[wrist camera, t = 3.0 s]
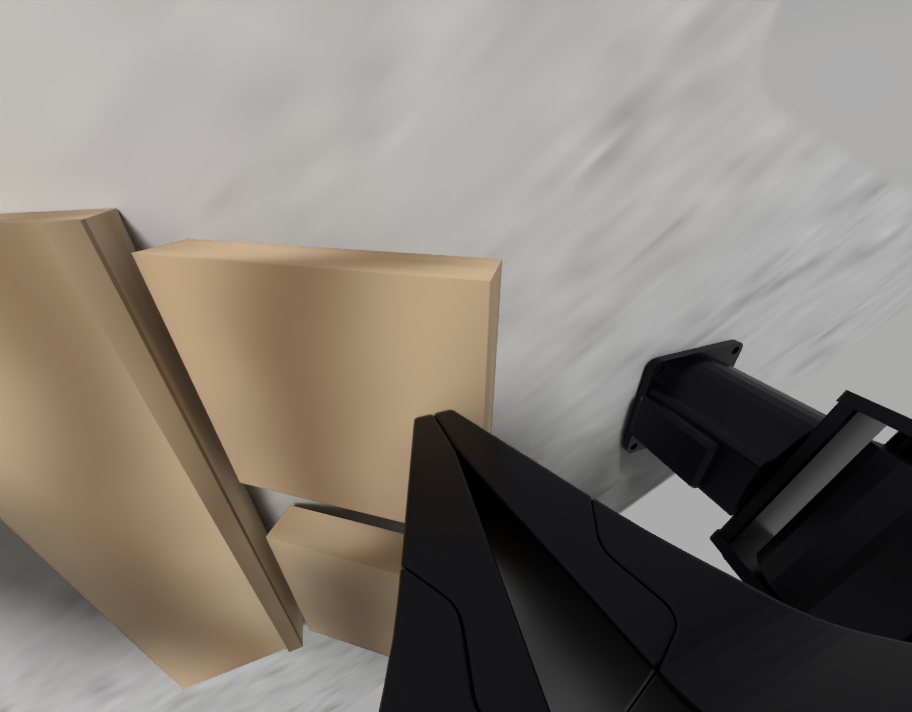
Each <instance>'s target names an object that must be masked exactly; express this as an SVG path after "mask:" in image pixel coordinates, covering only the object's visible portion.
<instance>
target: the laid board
mask: <svg viewBox="0 0 912 712" xmlns="http://www.w3.org/2000/svg"><path fill="white" fill-rule="evenodd" d="M133 252H137V251H136V249H135V247H134V245H133V243H132V241H131V239H130V236H129V234H128V232H127V230H126V228H125V226H124V223H123V221H122V219H121V217H120V215H119V213H118V211H117V208H115V209H94V210H72V211H51V212H30V213H9V214H0V519H1V520H2V521H3V522H4V523H5V524H6V525H8V526H9V527H10V528H11V529H12V530H13V531H14V532H15V533H16V534H17V535H18V536H19V537H20V538H21V539H23V540H24V541H25V542H26V543H27V544H28V545H29V546H30V547H31V548H32V549H33V550H34V551H35V552H36V553H38V554H39V555H40V556H41V557H42V558H43V559H44V560H45V561H46V562H47V563H48V564H49V565H50V566H51V567H53V568H54V569H55V570H56V571H57V572H58V573H59V574H60V575H61V576H62V577H63V578H64V579H65V580H66V581H68V582H69V583H70V584H71V585H72V586H73V587H74V588H75V589H76V590H77V591H78V592H79V593H80V594H81V595H83V596H84V597H85V598H86V599H87V600H88V601H89V602H90V603H91V604H92V605H93V606H94V607H95V608H96V609H98V610H99V611H100V612H101V613H102V614H103V615H104V616H105V617H106V618H107V619H108V620H109V621H110V622H111V623H112V624H114V625H115V626H116V627H117V628H118V629H119V630H120V631H121V632H122V633H123V634H124V635H125V636H126V637H127V638H129V639H130V640H131V641H132V642H133V643H134V644H135V645H136V646H137V647H138V648H139V649H140V650H141V651H142V652H144V653H145V654H146V655H147V656H148V657H149V658H150V659H151V660H152V661H153V662H154V663H155V664H156V665H157V666H159V667H160V668H161V669H162V670H163V671H164V672H165V673H166V674H167V675H168V676H169V677H170V678H171V679H172V680H174V681H175V682H176V683H177V684H178V685H179V686H180V687H181V688H182V689H185V688H187V687H190V686H192V685H195V684H197V683H200V682H202V681H205V680H208V679H210V678H213V677H215V676H218V675H220V674H223V673H225V672H228V671H230V670H233V669H235V668H238V667H240V666H243V665H245V664H248V663H250V662H253V661H255V660H258V659H261V658H263V657H266V656H268V655H271V654H273V653H276V652H278V651H281V650H283V649H286V648H287V649H288V651H289V652H290V651H293V650H295V649H298V648H300V647H303V615H302V613H301V611H300V608H299V606H298V604H297V602H296V600H295V598H294V596H293V594H292V592H291V589H290V587H289V585H288V583H287V581H286V579H285V577H284V575H283V572H282V570H281V568H280V566H279V564H278V562H277V560H276V558H275V556H274V553H273V551H272V549H271V547H270V545H269V543H268V541H267V539H266V536H267V535H268V534H267V531H266V529H265V527H264V525H263V523H262V521H261V519H260V516H259V514H258V512H257V510H256V508H255V506H254V503H253V501H252V499H251V497H250V495H249V493H248V491H247V488H246V486H245V484H244V483H240V481H239V479H238V477H237V475H236V473H235V471H234V469H233V467H232V465H231V462H230V460H229V458H228V456H227V454H226V452H225V450H224V448H223V445H222V443H221V441H220V439H219V437H218V435H217V433H216V431H215V429H214V426H213V424H212V422H211V420H210V418H209V416H208V414H207V412H206V409H205V407H204V405H203V403H202V401H201V399H200V397H199V395H198V393H197V390H196V388H195V386H194V384H193V382H192V380H191V378H190V376H189V373H188V371H187V369H186V367H185V365H184V363H183V361H182V359H181V357H180V354H179V352H178V350H177V348H176V346H175V344H174V342H173V340H172V337H171V335H170V333H169V331H168V329H167V327H166V325H165V323H164V321H163V318H162V316H161V314H160V312H159V310H158V308H157V306H156V304H155V301H154V299H153V297H152V295H151V293H150V291H149V289H148V287H147V285H146V282H145V280H144V278H143V276H142V274H141V272H140V270H139V268H138V265H137V263H136V261H135V259H134V257H133V255H132V253H133Z"/></svg>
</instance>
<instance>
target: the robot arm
mask: <svg viewBox="0 0 912 712" xmlns="http://www.w3.org/2000/svg"><path fill="white" fill-rule="evenodd" d="M742 347H743V344H742V343H741V342H739V341H736V340H728V341H724V342H720V343H715V344H711V345H707V346H703V347H699V348H695V349H690V350H686V351H682V352H678V353H674V354H669V355H665V356H661V357H657V358H655V359H653V360H652V361H651V362H650V363H649V365H648V367H647V370H646V373H645V376H644V379H643V382H642V386H641V389H640V392H639V395H638V398H637V401H636V404H635V407H634V410H633V413H632V416H631V420H630V423H629V426H628V429H627V432H626V435H625V438H624V441H623V445H622V447H623V448H624V449H625V450H626V451H627V452H628V453H632V452H635V451H638V450H641V449H644V448H647V449H648V450H649V451H651V452H652V453H653V454H654V455H655V456H656V457H657V458H659V459H660V460H661V461H662V462H663V463H664V464H665V465H667V466H668V467H669V468H670V469H671V470H672V471H673V472H674V473H676V474H677V475H678V476H679V477H680V478H681V479H682V480H684V481H685V482H686V483H687V484H688V485H689V486H691V487H693V488H697V487H698V488H699V489H700V490H701V491H702V492H704V493H705V494H706V495H707V496H708V497H709V498H711V499H712V500H713V501H714V502H716V504H718V505H719V506H720V507H721V508H722V509H723V510H724V511H726V512H727V513H728V514H729V515H731V516H732V515H733V516H732V518H731V519H730V520H729V521H728V522H727V523H726V524H725V525H724V526H723V527H722V528H721V529H717V530H716V531H715V532H714V533H713V534H712V535H711V537H710V540H711V541H712V542H713V543H714V545H715V546H716V547H717V549H719V551H720V552H721V553H722V556H723V557H724V559H725V560H726V561H727V562H728V564H729V565H730V566H731V568H732V569H733V570H734V571H735V573H736V574H737V575H738V576H739V577H740V579H741V580H742V581H743V582H742V581H740V580H738V579H736V578H735V577H733V576H731V575H729V574H727V573H725V572H723V571H721V570H719V569H717V568H715V567H713V566H711V565H709V564H708V563H706V562H704V561H702V560H700V559H698V558H696V557H694V556H693V555H691V554H689V553H687V552H685V551H683V550H681V549H679V548H678V547H676V546H674V545H672V544H670V543H668V542H667V541H665V540H663V539H661V538H659V537H657V536H656V535H654V534H652V533H650V532H649V531H647V530H645V529H643V528H642V527H640V526H638V525H637V524H635V523H633V522H631V521H630V520H628V519H627V518H625V517H623V516H622V515H620V514H618V513H617V512H615V511H613V510H612V509H610V508H608V507H607V506H605V505H604V504H602V503H601V502H599V501H597V500H596V499H592V500H591V497H590V496H589V495H588V494H586V493H584V492H583V491H581V490H580V489H578V488H576V487H575V486H573V485H572V484H570V483H568V482H567V481H565V480H564V479H562V478H561V477H559V476H557V475H556V474H554V473H553V472H551V471H549V470H548V469H546V468H545V467H543V466H542V465H540V464H538V463H537V462H535V461H534V460H532V459H530V458H529V457H527V456H526V455H524V454H522V453H521V452H519V451H518V450H516V449H515V448H513V447H511V446H510V445H508V444H507V443H505V442H503V441H502V440H500V439H499V438H497V437H495V436H494V435H492V434H491V433H489V432H488V431H486V430H484V429H483V428H481V427H480V426H478V425H476V424H475V423H473V422H472V421H470V420H468V419H467V418H465V417H464V416H462V415H461V414H459V413H457V412H456V411H454V410H451V409H450V410H445V411H441V412H437V413H435V414H434V415H432V414H428V415H424V416H420V417H416V418H415V419H414V425H413V436H412V447H411V458H410V469H409V480H408V491H407V502H406V513H405V524H404V535H403V546H402V557H401V571H400V576H399V587H398V598H397V606H396V614H395V622H394V631H393V639H392V644H391V650H390V655H389V661H388V666H387V672H386V677H385V683H384V688H383V693H382V698H381V703H380V708H379V712H912V419H910V418H908V417H906V416H904V415H901V414H899V413H897V412H895V411H893V410H890V409H888V408H886V407H884V406H881V405H879V404H877V403H875V402H872V401H870V400H868V399H866V398H863V397H861V396H859V395H857V394H854V393H852V392H850V391H848V390H846V391H845V392H844V393H843V394H842V395H841V396H840V397H839V398H838V399H837V400H836V401H838V404H837V405H836V406H835V407H834V408H833V409H832V410H831V411H830V412H829V413H828V414H827V415H825V414H823V413H821V412H819V411H817V410H815V409H814V408H812V407H810V406H807V405H806V404H804V403H802V402H800V401H798V400H796V399H794V398H792V397H790V396H788V395H786V394H784V393H782V392H780V391H778V390H777V389H775V388H773V387H771V386H769V385H767V384H765V383H763V382H761V381H759V380H757V379H755V378H753V377H751V376H749V375H747V374H745V373H743V372H741V371H739V370H738V369H736V368H734V364H735V362H736V360H737V358H738V356H739V354H740V352H741V350H742ZM886 426H889V427H892V428H894V429H896V430H898V432H897V433H896V434H895V435H894V436H893V437H892V438H891V439H889V441H887V443H886V444H881V443H879V442H876V441H873V440H872V439H873V438H874V437H875V436H876V435H877V434H878V433H879V432H880V431H881V430H883V428H884V427H886Z"/></svg>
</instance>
